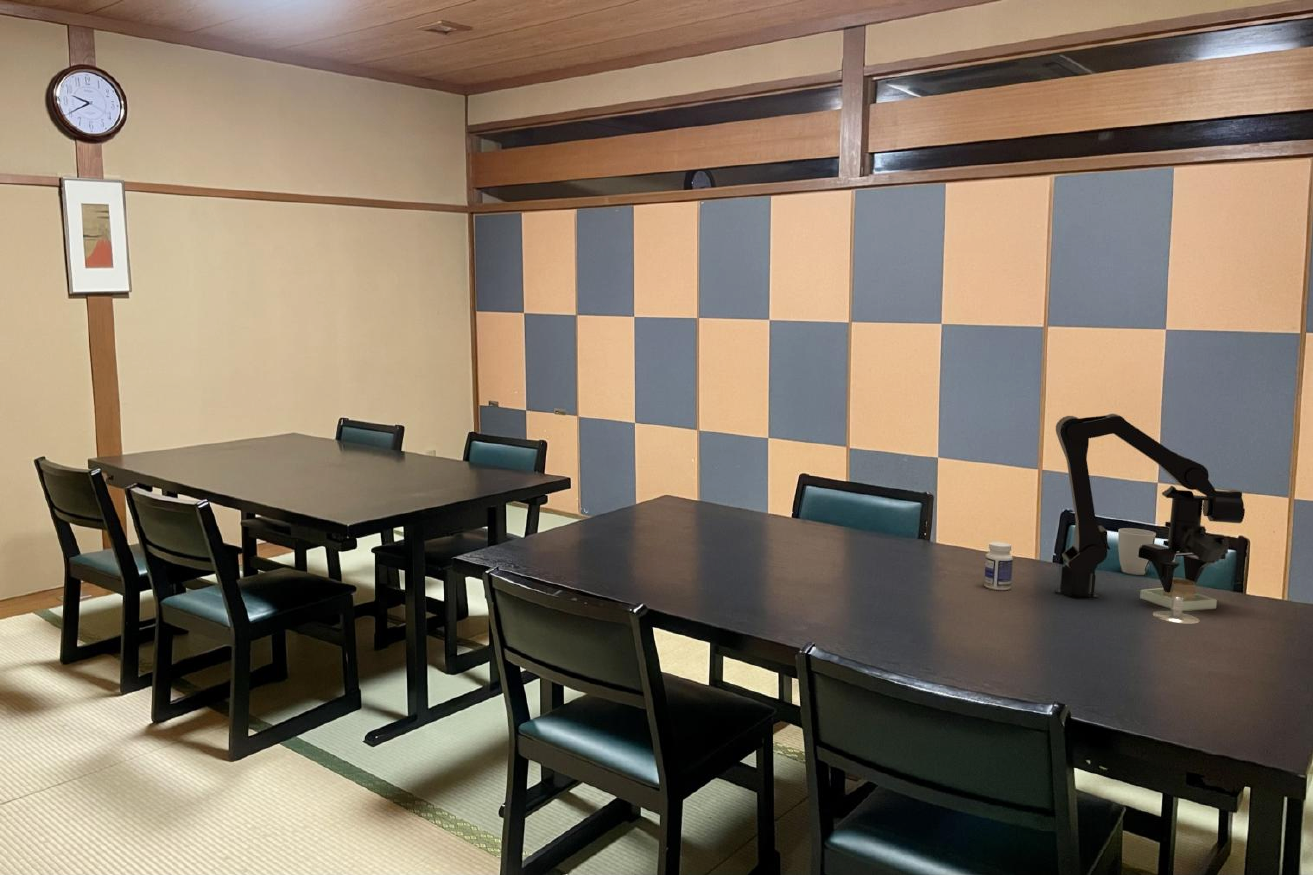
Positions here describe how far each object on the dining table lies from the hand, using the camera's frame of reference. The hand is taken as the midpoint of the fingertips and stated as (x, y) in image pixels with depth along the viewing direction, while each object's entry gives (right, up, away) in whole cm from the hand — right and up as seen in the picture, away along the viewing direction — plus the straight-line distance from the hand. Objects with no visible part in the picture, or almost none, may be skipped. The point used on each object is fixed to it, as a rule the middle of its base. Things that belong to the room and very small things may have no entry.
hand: (1178, 591), depth 210 cm
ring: (0, -1, 0) cm, 1 cm away
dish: (0, -3, 0) cm, 3 cm away
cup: (+4, 0, +28) cm, 28 cm away
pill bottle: (-35, -1, +10) cm, 37 cm away
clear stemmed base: (-6, -4, -10) cm, 12 cm away
